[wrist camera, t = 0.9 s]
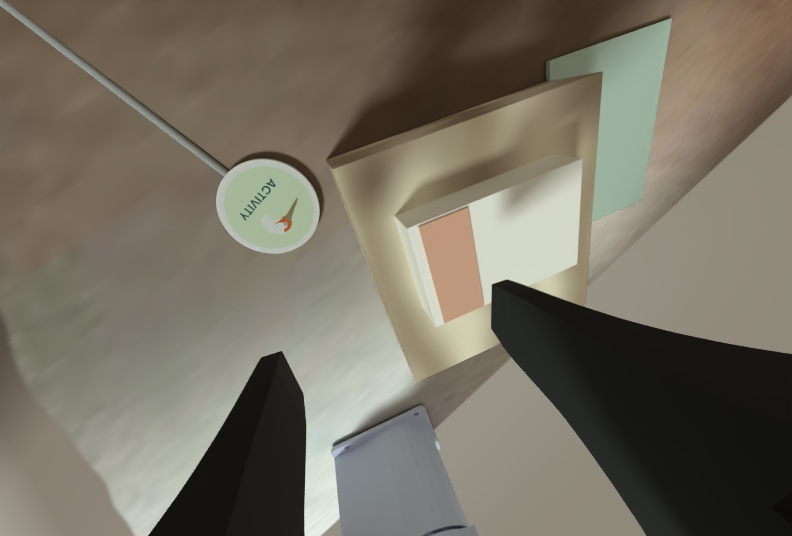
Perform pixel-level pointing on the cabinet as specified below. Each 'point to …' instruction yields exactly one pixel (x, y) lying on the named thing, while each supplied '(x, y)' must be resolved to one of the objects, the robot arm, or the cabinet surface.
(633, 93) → the mat
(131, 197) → the cabinet surface
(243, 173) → the sign
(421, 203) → the cream piece
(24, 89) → the cabinet surface
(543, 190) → the white striped box
